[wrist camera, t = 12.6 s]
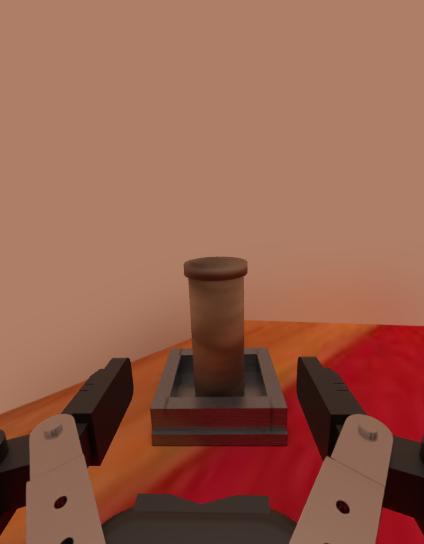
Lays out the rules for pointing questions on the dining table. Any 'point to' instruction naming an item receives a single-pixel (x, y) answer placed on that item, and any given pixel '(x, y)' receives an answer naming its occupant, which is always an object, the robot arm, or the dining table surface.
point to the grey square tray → (219, 406)
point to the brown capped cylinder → (217, 324)
